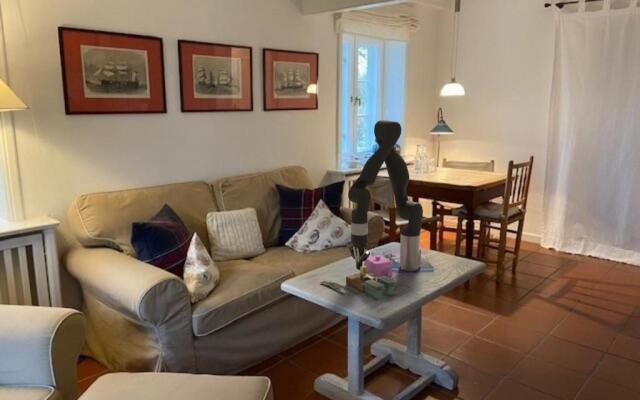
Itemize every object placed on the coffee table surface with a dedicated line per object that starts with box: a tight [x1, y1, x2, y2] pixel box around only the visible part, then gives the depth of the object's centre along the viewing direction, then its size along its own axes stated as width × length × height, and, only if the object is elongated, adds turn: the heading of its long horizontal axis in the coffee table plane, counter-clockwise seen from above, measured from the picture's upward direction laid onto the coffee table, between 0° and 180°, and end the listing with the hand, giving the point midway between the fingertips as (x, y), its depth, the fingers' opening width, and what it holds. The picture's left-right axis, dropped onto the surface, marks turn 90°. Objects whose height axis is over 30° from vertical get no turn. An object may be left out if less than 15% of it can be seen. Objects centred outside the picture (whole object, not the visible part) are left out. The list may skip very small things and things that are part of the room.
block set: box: [345, 272, 398, 302], centre depth 213 cm, size 11×21×6 cm, turn 34°
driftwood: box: [319, 280, 360, 296], centre depth 216 cm, size 21×7×2 cm, turn 37°
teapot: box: [363, 254, 393, 279], centre depth 227 cm, size 18×10×10 cm, turn 24°
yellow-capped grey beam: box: [359, 265, 376, 281], centre depth 214 cm, size 2×8×5 cm, turn 34°
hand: (359, 269), depth 219 cm, fingers closed
